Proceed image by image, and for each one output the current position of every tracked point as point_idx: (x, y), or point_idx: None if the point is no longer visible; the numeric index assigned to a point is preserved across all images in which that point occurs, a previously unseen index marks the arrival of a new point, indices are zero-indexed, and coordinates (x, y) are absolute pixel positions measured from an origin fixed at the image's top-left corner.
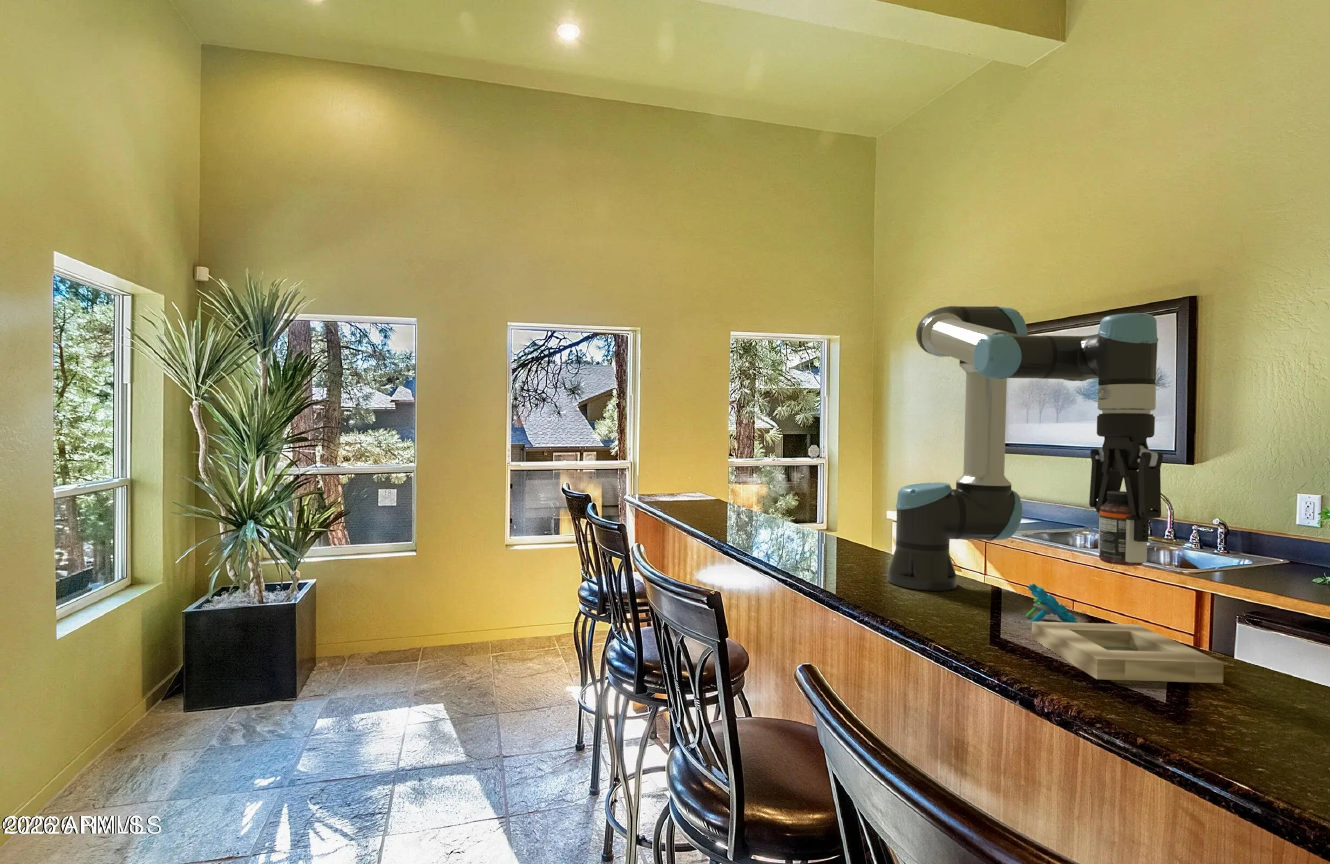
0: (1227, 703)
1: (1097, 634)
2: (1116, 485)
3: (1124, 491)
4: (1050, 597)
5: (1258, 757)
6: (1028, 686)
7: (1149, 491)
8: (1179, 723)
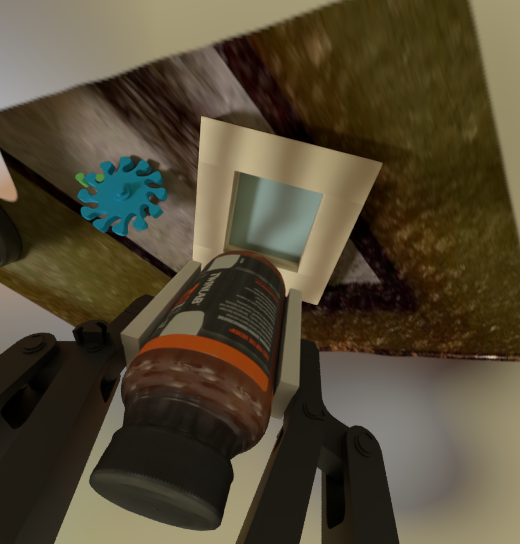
0: (413, 223)
1: (229, 216)
2: (40, 523)
3: (106, 482)
4: (141, 228)
5: (485, 312)
6: None
7: None
8: (414, 310)
